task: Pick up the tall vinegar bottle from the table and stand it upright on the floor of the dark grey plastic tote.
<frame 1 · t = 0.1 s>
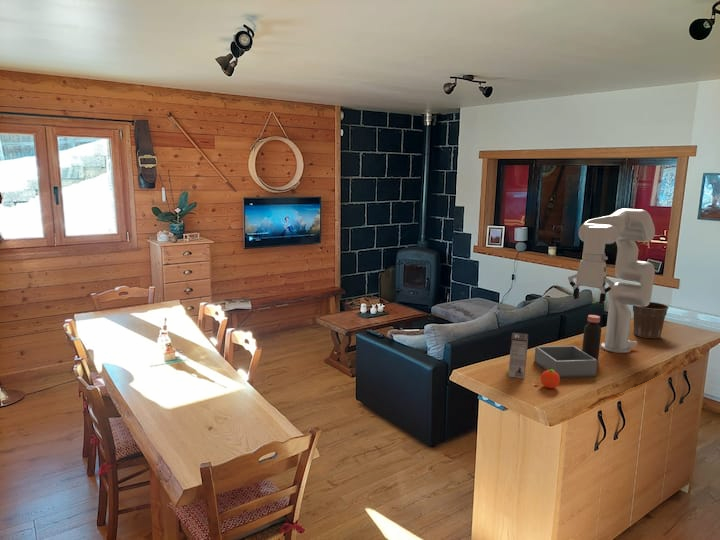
hand: (588, 300, 202), 31 cm above the table, tool pointing down, fingers open, 9 cm apart
clementine: (549, 387, 196), on the table
plant pot: (646, 335, 262), on the table
vinegar: (589, 360, 225), on the table
coffee box: (516, 374, 208), on the table
tote: (563, 369, 214), on the table
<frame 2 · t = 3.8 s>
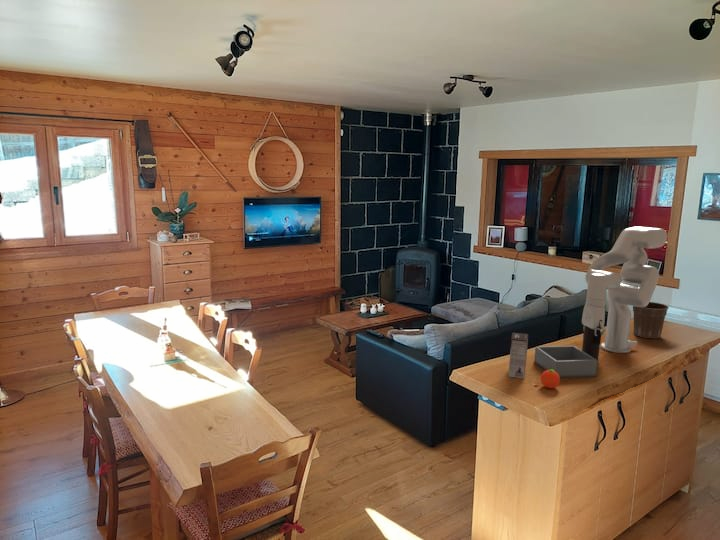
hand: (591, 341, 224), 9 cm above the table, tool pointing down, fingers closed on vinegar, 6 cm apart
vinegar: (589, 360, 225), on the table, touching gripper
everything else where it was.
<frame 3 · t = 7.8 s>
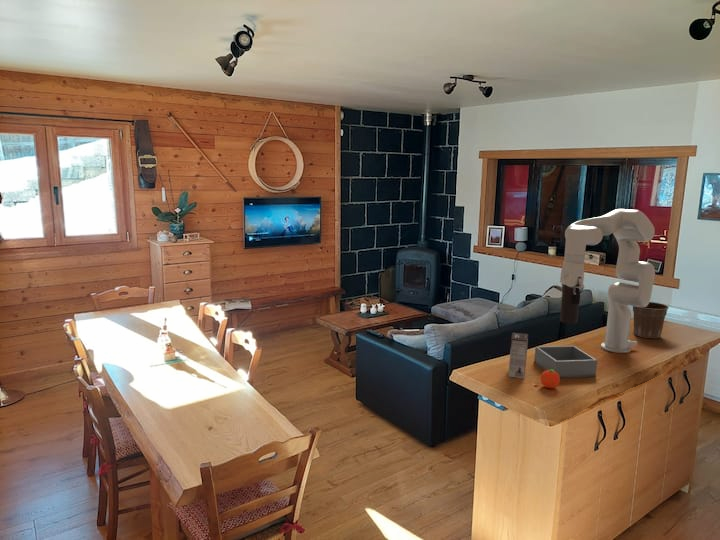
hand: (570, 301, 209), 29 cm above the table, tool pointing down, fingers closed on vinegar, 6 cm apart
vinegar: (568, 322, 211), point 20 cm above the table, touching gripper
everything else where it was.
when the fingers open (11 cm above the table, at t = 12.1 s): vinegar drops 1 cm, resting on tote.
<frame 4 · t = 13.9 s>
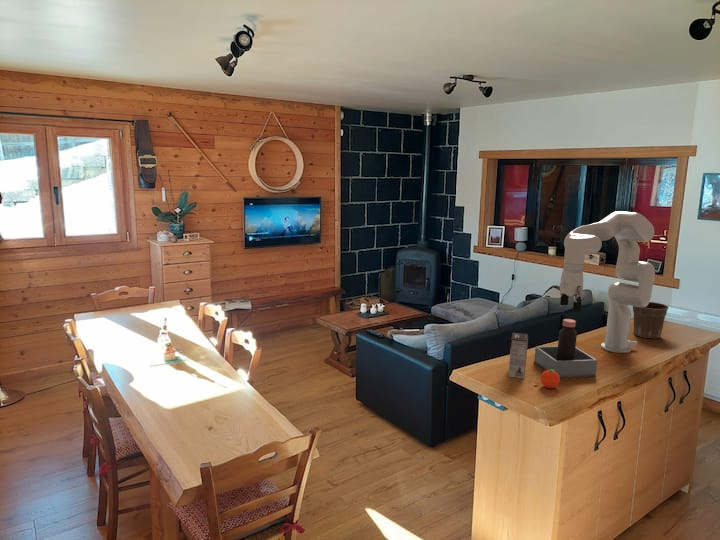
hand: (570, 308, 210), 26 cm above the table, tool pointing down, fingers open, 9 cm apart
vinegar: (564, 367, 214), point 1 cm above the table, touching tote
everything else where it was.
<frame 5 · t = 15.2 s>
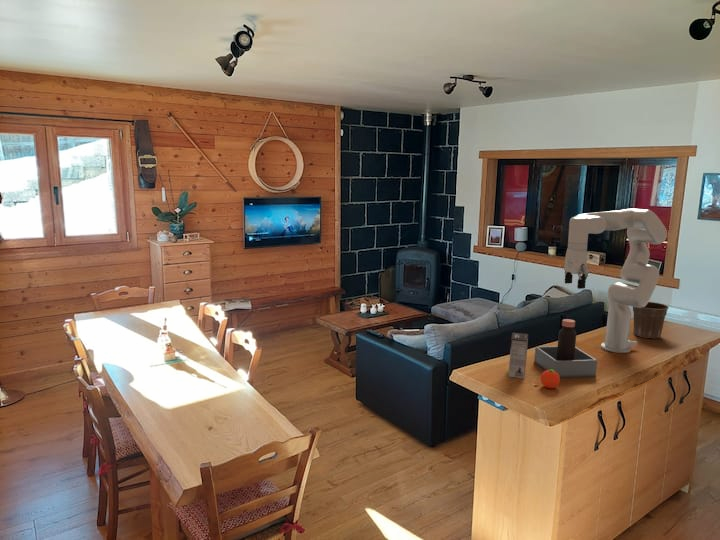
hand: (574, 285, 220), 33 cm above the table, tool pointing down, fingers open, 9 cm apart
nothing on the table moved.
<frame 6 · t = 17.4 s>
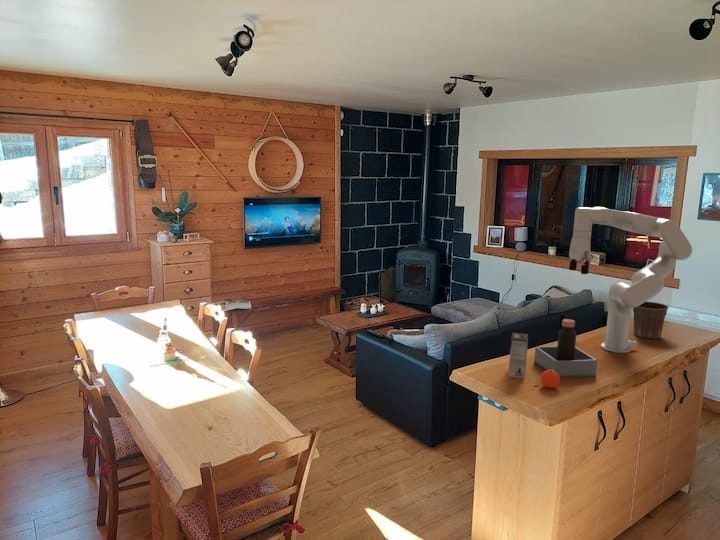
hand: (578, 271, 235), 36 cm above the table, tool pointing down, fingers open, 9 cm apart
nothing on the table moved.
at the end: vinegar inside the target area on the tote (0.3 cm from its centre), point 0.8 cm above the tote's base; vinegar tilted 0°; the gripper is holding nothing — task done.
